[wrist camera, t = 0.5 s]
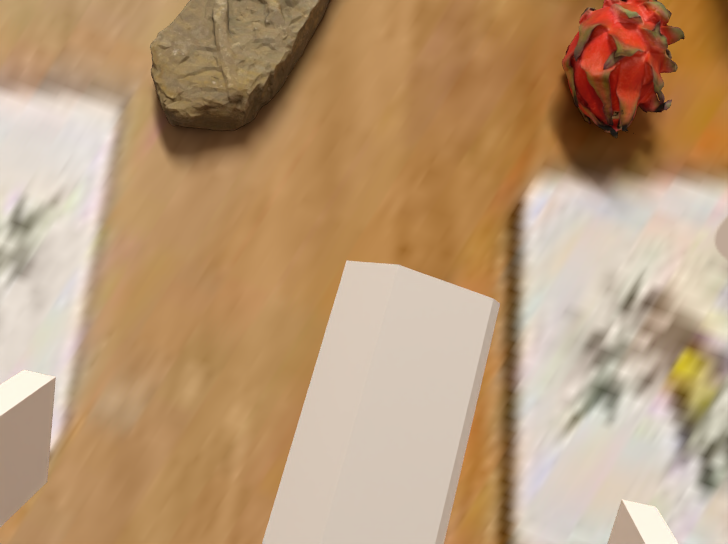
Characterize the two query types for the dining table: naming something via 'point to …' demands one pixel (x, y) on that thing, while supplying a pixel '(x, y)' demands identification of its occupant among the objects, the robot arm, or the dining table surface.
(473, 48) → the dining table surface
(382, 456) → the crown molding
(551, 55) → the dining table surface
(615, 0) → the dragon fruit
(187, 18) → the stone slab
